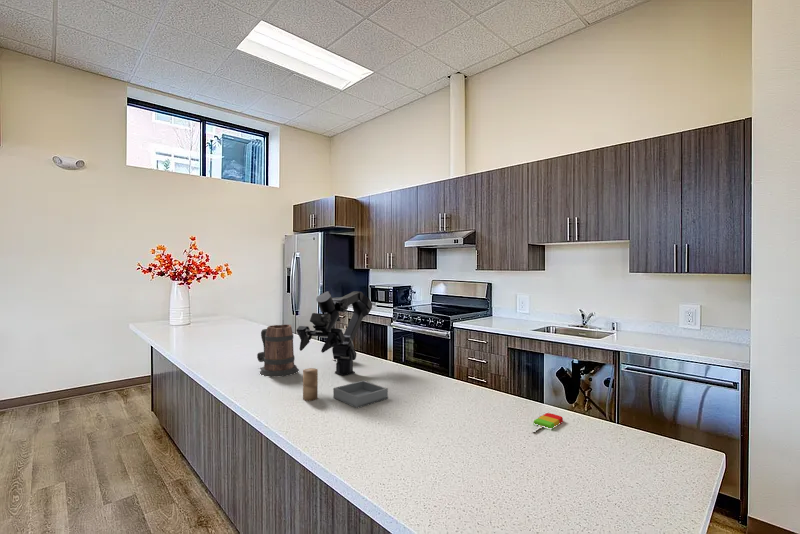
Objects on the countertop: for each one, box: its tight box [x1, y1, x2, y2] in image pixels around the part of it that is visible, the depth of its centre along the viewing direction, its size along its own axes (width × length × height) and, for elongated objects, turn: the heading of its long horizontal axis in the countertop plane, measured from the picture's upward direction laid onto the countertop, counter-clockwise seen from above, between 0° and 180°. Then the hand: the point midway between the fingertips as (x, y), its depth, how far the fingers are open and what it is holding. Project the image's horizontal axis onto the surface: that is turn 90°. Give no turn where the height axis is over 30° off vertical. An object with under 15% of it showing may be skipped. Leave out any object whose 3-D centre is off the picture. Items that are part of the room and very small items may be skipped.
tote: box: [332, 380, 389, 409], centre depth 142 cm, size 14×14×4 cm
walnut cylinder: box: [302, 367, 319, 402], centre depth 141 cm, size 5×5×10 cm
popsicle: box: [533, 412, 564, 428], centre depth 119 cm, size 6×15×2 cm, turn 135°
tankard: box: [256, 324, 300, 377], centre depth 178 cm, size 24×17×20 cm
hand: (310, 350), depth 148 cm, fingers open, 9 cm apart
